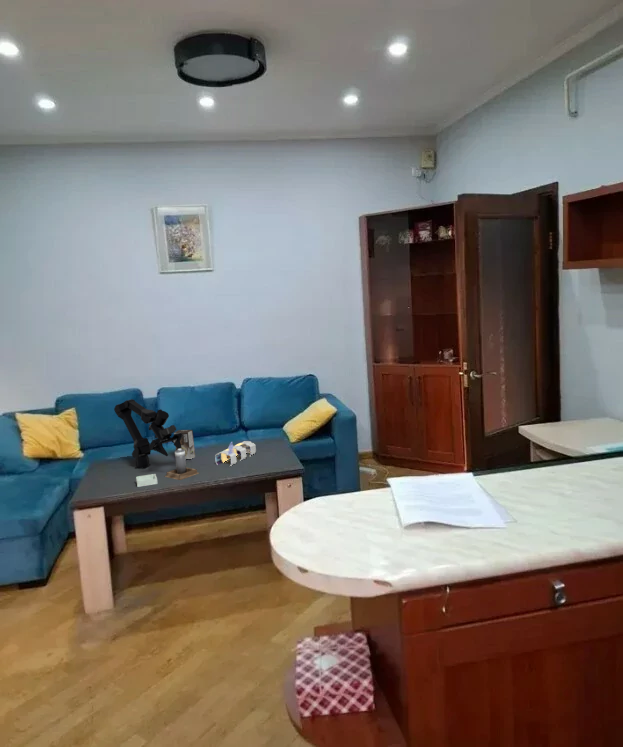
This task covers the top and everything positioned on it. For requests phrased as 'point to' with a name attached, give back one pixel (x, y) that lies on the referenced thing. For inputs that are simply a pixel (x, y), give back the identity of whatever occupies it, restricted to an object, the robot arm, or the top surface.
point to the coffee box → (187, 443)
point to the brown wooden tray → (174, 474)
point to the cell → (180, 461)
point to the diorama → (235, 452)
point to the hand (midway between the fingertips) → (174, 453)
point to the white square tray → (146, 480)
